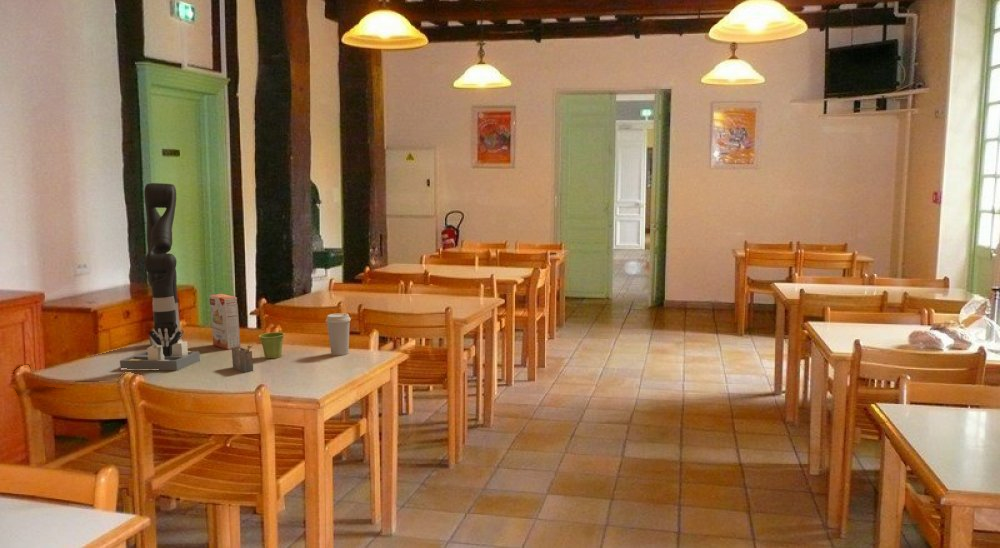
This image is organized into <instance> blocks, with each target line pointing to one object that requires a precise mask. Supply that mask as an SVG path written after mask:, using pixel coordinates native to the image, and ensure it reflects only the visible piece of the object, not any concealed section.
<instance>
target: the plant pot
mask: <svg viewBox="0 0 1000 548" xmlns="http://www.w3.org/2000/svg"><path fill="white" fill-rule="evenodd" d="M284 336H285V333H284V332H276V331H275V332H267V333H261V334H259V335H258V337H259V339H260V342H261V347H262V349H263V350H262V351H263V355H264V358H265V359H274V360H275V359H279V358H280V357H282V356H283V355H282V353H283V341H284Z"/></svg>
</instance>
